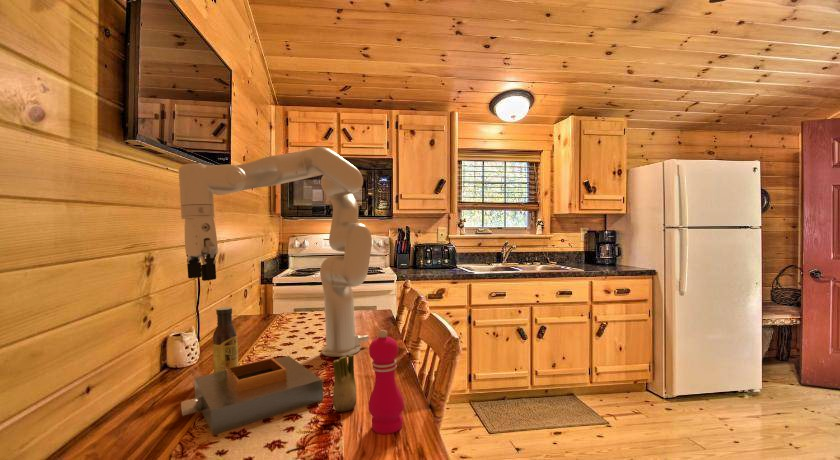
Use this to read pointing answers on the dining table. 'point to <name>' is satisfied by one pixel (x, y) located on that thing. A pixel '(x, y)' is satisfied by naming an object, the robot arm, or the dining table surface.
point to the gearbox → (253, 392)
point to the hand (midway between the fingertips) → (201, 278)
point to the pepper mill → (385, 386)
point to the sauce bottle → (224, 341)
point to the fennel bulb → (344, 384)
